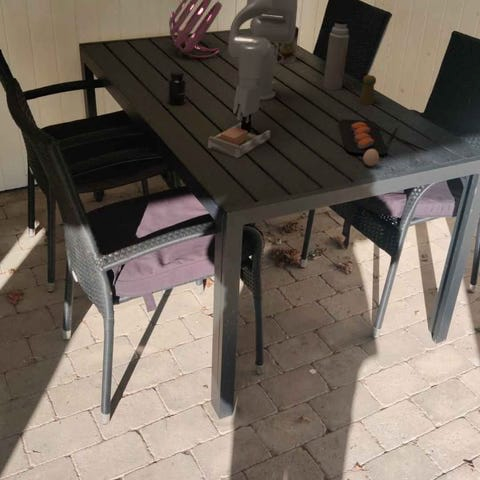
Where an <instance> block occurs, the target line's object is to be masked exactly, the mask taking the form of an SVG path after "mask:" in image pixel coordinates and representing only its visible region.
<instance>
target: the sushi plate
mask: <svg viewBox="0 0 480 480" xmlns="http://www.w3.org/2000/svg"><path fill="white" fill-rule="evenodd" d="M338 122H339V123H338V124H339V125H338V126H339V129H340V132H341V137H342V141H343V145H344V148H345V150H346V151H347V152H348V153H351V154H357V155H361V154H362V155H364V154H365V152H366V151H367V150H369V149H374V150H376V151H377V152H378V155H379V156H383V155H384V156H385V155H386V154H387V153H388V152H387V151H388V150H387V146H388V144H389V143H390V141H391V140H392V138H395V139H397V140H400V141H402V142H403V143H406V144H407V145H409V146H412V147H414V148H417V149H419V150H423V151H424V152H428V150H427V149H424V147H423V148H422V147H420V146H418V145H416V144H414V143H411V142H409V141H407V140H404V138H403V139H402V138H400V137H398V136H395V134H396V133H397V130H398V129H399V127H396V128H395V129H394V131H393V133H392V134H391V133H389V132H388V131H385V130H384V129H381V128H379V125H378V124H377V122H375V121H371V120H361V119H340V120H339V121H338ZM381 132H382V133H384V134H387V135H390V137H389V139H388V140H387V142H386V144H385V141H384V138H383V136H382V135H383V134H382V133H381Z"/></svg>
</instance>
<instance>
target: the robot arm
mask: <svg viewBox="0 0 480 480" xmlns="http://www.w3.org/2000/svg"><path fill="white" fill-rule="evenodd" d="M297 14H298V0H246V5H245V6H244V7H243V8H242V9H240V11H239V12H238V13H237V14H236V15H235V17H234V19H232V20H233V21H232V22H231V25H230V29H229V36H228V37H229V38H228V44H227V50H228V54H229V56H230V57H232V58H234V59H238V72H237V73H238V75H237V76H238V77H237V86H236V89H235V93H234V100H233V110H232V111H233V114H234V115H236V120H238V121H240V123H241V129H243V130H246V131H248V133H251V132H252V121H253V119H254V115H255V114H256V113H257V111H259V109H260V104H261V101H268V100H272V99H274V98H275V97H276V92H275V91H274V90H273V87H274V86H276V85H277V81H276V80H273V79H274V78H273V77H274V68H275V67H274V66H275V61H274V57H275V53H274V47H273V46H272V44H271V43H275V42H276V43H291V42H292V41H293V39H294V36H295V29H296V27H297V26H296V25H297V16H298V15H297ZM247 21H250V23H249V24H250V25H249V32H250V35H241V34H240V35H239V31H240V29H241V27H242V25H243V24H244V23H246V22H247ZM248 133H247V134H248Z"/></svg>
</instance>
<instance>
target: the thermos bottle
mask: <svg viewBox="0 0 480 480" xmlns="http://www.w3.org/2000/svg"><path fill="white" fill-rule="evenodd" d="M347 27H348V20H346V19H339V18H336V19H335V20H334V26H332V29H331V32H329V35H328V36H329V37H328V43H327V45H328V46H327V52H326V53H327V54H326V62H325V70H324V75H323V84H322V86H323V88H325V89H327V90H331V91H335V90H336V91H338V90H341V89H342V87H343V81H344V73H345V67H346V62H347V60H346V59H347V54H348V53H347V52H348V47H349V39H350V35H349V28H347Z"/></svg>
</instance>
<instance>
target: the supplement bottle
mask: <svg viewBox="0 0 480 480" xmlns="http://www.w3.org/2000/svg"><path fill="white" fill-rule="evenodd" d="M186 84H187V82H186V79H184V72H183V71H181V70H171V71H170V78H169V79H168V81H167V102H168V103H169V104H170V105H172V106H173V105H174V106H182V105H184V104H185V103H186V91H187V90H186V87H187V85H186Z"/></svg>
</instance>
